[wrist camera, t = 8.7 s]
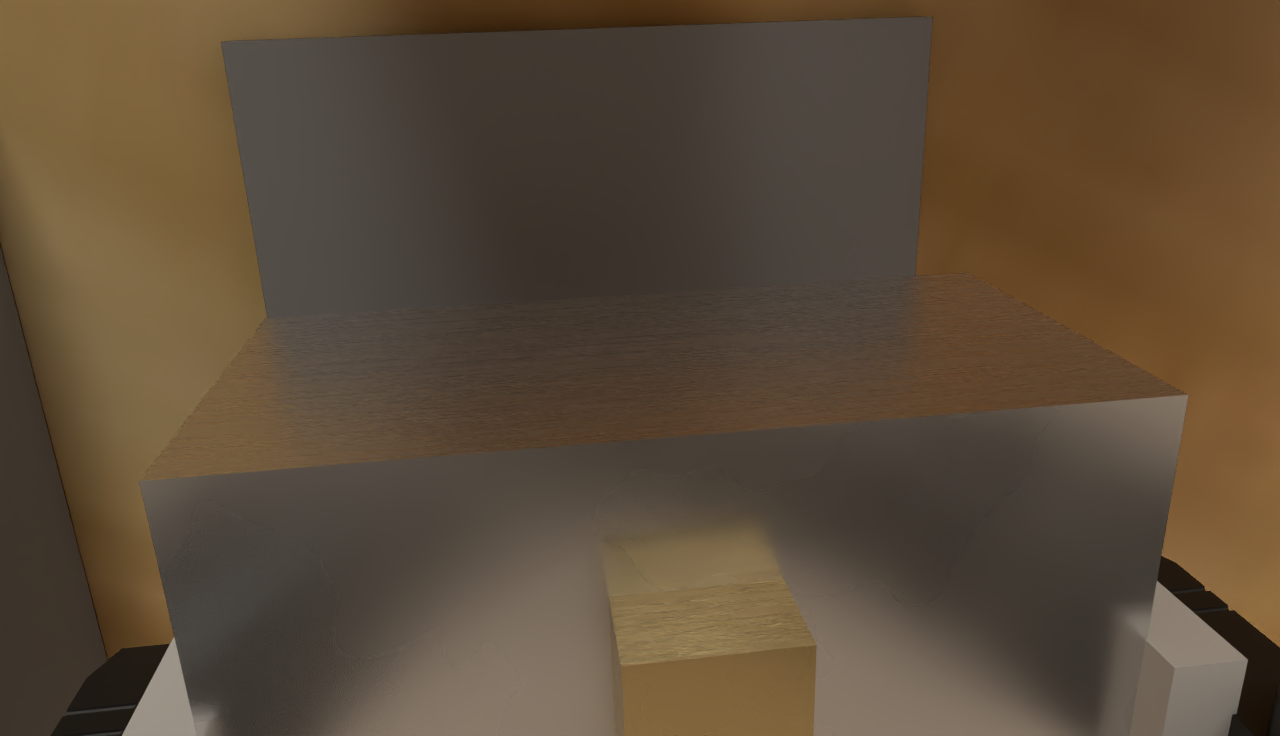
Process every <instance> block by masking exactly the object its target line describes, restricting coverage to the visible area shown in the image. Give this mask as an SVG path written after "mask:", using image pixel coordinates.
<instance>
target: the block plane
mask: <svg viewBox="0 0 1280 736" xmlns="http://www.w3.org/2000/svg"><path fill="white" fill-rule="evenodd" d="M105 662H107V657H106V653H105V649H104V645H103V642H102V638H101V634H100V630H99V626H98V622H97V618H96V615H95V611H94V607H93V603H92V599H91V595H90V591H89V587H88V584H87V580H86V576H85V572H84V568H83V564H82V560H81V557H80V553H79V549H78V545H77V541H76V537H75V533H74V530H73V526H72V522H71V518H70V514H69V510H68V506H67V502H66V499H65V495H64V491H63V487H62V483H61V479H60V475H59V472H58V468H57V464H56V460H55V456H54V452H53V448H52V445H51V441H50V437H49V433H48V429H47V425H46V421H45V417H44V414H43V410H42V406H41V402H40V398H39V394H38V390H37V387H36V383H35V379H34V375H33V371H32V367H31V363H30V360H29V356H28V352H27V348H26V344H25V340H24V336H23V332H22V329H21V325H20V321H19V317H18V313H17V309H16V305H15V302H14V298H13V294H12V290H11V286H10V282H9V278H8V274H7V271H6V267H5V263H4V259H3V255H2V251H1V247H0V736H51V734H52V732H53V731H54V729H55V728H56V726H57V724H58V723H59V721H60V720H61V718H62V716H66V715H67V708H68V707H69V705H70V704H71V702H72V700H73V699H74V697H75V696H76V694H77V692H78V691H79V689H80V688H81V686H82V684H83V683H84V681H85V680H86V678H87V677H88V676H90V675H91V674H92V673H93V672H94V671H96V670H97V669H98V668H99V667H100V666H102V665H103V664H104V663H105Z"/></svg>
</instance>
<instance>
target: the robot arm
mask: <svg viewBox="0 0 1280 736" xmlns="http://www.w3.org/2000/svg"><path fill="white" fill-rule="evenodd" d="M51 736H197V735H196V730H195V726H194V722H193V717H192V713H191V708H190V704H189V699H188V695H187V691H186V686H185V682H184V677H183V673H182V669H181V664H180V660H179V655H178V651H177V646H176V642H175V638H174V637H173V639H172V641H171V643H170V644H164V645H154V646H144V647H134V648H124V649H121V650H120V651H119V652H117V653H116V654H115V655H114V656H113V657H111V658H110V659H109V660H108V661H107V662H105V663H104V664H103V665H102V666H100V667H99V668H98V669H97V670H96V671H94V672H93V673H92V674H91V675H90V676H88V677H87V678H86V680H85V681H84V683H83V684H82V686H81V688H80V689H79V691H78V692H77V694H76V696H75V697H74V699H73V700H72V702H71V704H70V705H69V707H68V708H67V715H66V716H62V718H61V720H60V721H59V723H58V724H57V726H56V728H55V729H54V731H53V732H52V734H51ZM1129 736H1280V648H1279V647H1278V646H1277V645H1276V644H1275V643H1273V642H1272V641H1271V640H1270V639H1268V638H1267V637H1266V636H1265V635H1264V634H1262V633H1261V632H1260V631H1259V630H1257V629H1256V628H1255V627H1254V626H1253V625H1251V624H1250V623H1249V622H1248V621H1246V620H1245V619H1244V618H1243V617H1241V616H1240V615H1239V614H1238V613H1237V612H1235V611H1234V610H1232V611H1229V609H1228V605H1227V604H1226V603H1224V602H1223V601H1222V600H1221V599H1219V598H1218V597H1217V596H1216V595H1215V594H1213V593H1212V592H1211V591H1205V589H1204V586H1203V585H1202V584H1201V583H1200V582H1199V581H1197V580H1196V579H1195V578H1194V577H1192V576H1191V575H1190V574H1189V573H1188V572H1186V571H1185V570H1184V569H1183V568H1181V567H1180V566H1179V565H1178V564H1177V563H1175V562H1173V561H1171V560H1169V559H1167V558H1164V557H1162V556H1161V560H1160V566H1159V572H1158V578H1157V583H1156V589H1155V595H1154V601H1153V607H1152V613H1151V619H1150V625H1149V631H1148V636H1147V639H1146V640H1145V646H1144V652H1143V657H1142V663H1141V669H1140V675H1139V681H1138V687H1137V693H1136V699H1135V705H1134V711H1133V717H1132V722H1131V728H1130V734H1129Z"/></svg>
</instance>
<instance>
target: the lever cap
mask: <svg viewBox="0 0 1280 736" xmlns="http://www.w3.org/2000/svg"><path fill="white" fill-rule="evenodd" d="M1187 401H1188V394H1186V393H1184V392H1183V391H1181V390H1179V389H1177V388H1175V387H1174V386H1172V385H1170V384H1168V383H1166V382H1165V381H1163V380H1161V379H1159V378H1157V377H1156V376H1154V375H1152V374H1150V373H1148V372H1147V371H1145V370H1143V369H1141V368H1139V367H1138V366H1136V365H1134V364H1132V363H1130V362H1129V361H1127V360H1125V359H1123V358H1121V357H1120V356H1118V355H1116V354H1114V353H1112V352H1111V351H1109V350H1107V349H1105V348H1103V347H1102V346H1100V345H1098V344H1096V343H1094V342H1093V341H1091V340H1089V339H1087V338H1085V337H1084V336H1082V335H1080V334H1078V333H1076V332H1075V331H1073V330H1071V329H1069V328H1067V327H1066V326H1064V325H1062V324H1060V323H1058V322H1057V321H1055V320H1053V319H1051V318H1050V317H1048V316H1046V315H1044V314H1042V313H1041V312H1039V311H1037V310H1035V309H1033V308H1032V307H1030V306H1028V305H1026V304H1024V303H1023V302H1021V301H1019V300H1017V299H1015V298H1014V297H1012V296H1010V295H1008V294H1006V293H1005V292H1003V291H1001V290H999V289H997V288H996V287H994V286H992V285H990V284H988V283H987V282H985V281H983V280H981V279H979V278H978V277H976V276H974V275H972V274H970V273H969V272H966V273H951V274H936V275H921V276H905V277H890V278H875V279H860V280H844V281H829V282H814V283H799V284H784V285H768V286H753V287H738V288H723V289H707V290H692V291H677V292H662V293H647V294H631V295H616V296H601V297H586V298H570V299H555V300H540V301H525V302H510V303H494V304H479V305H464V306H449V307H433V308H418V309H403V310H388V311H373V312H357V313H342V314H327V315H312V316H296V317H281V318H266V319H265V320H264V321H263V322H262V323H261V325H260V326H259V327H258V329H257V330H256V331H255V332H254V334H253V335H252V336H251V338H250V339H249V340H248V341H247V343H246V344H245V345H244V347H243V348H242V349H241V350H240V352H239V353H238V354H237V356H236V357H235V358H234V359H233V361H232V362H231V363H230V365H229V366H228V367H227V368H226V370H225V371H224V372H223V374H222V375H221V376H220V378H219V379H218V380H217V381H216V383H215V384H214V385H213V387H212V388H211V389H210V390H209V392H208V393H207V394H206V396H205V397H204V398H203V399H202V401H201V402H200V403H199V405H198V406H197V407H196V408H195V410H194V411H193V412H192V414H191V415H190V416H189V417H188V419H187V420H186V421H185V423H184V424H183V425H182V426H181V428H180V429H179V430H178V432H177V433H176V434H175V435H174V437H173V438H172V439H171V441H170V442H169V443H168V445H167V446H166V447H165V448H164V450H163V451H162V452H161V454H160V455H159V456H158V457H157V459H156V460H155V461H154V463H153V464H152V465H151V466H150V468H149V469H148V470H147V472H146V473H145V474H144V475H143V477H142V478H141V479H140V481H139V483H140V487H141V492H142V496H143V501H144V505H145V510H146V514H147V518H148V523H149V527H150V532H151V536H152V540H153V545H154V549H155V554H156V558H157V563H158V567H159V571H160V576H161V580H162V585H163V589H164V593H165V598H166V602H167V607H168V611H169V616H170V620H171V624H172V629H173V633H174V638H175V642H176V646H177V651H178V655H179V660H180V664H181V669H182V673H183V677H184V682H185V686H186V691H187V695H188V699H189V704H190V708H191V713H192V717H193V722H194V726H195V730H196V735H197V736H1129V734H1130V728H1131V722H1132V717H1133V711H1134V705H1135V699H1136V693H1137V687H1138V681H1139V675H1140V669H1141V663H1142V657H1143V652H1144V646H1145V640H1146V639H1147V636H1148V631H1149V625H1150V619H1151V613H1152V607H1153V601H1154V595H1155V589H1156V583H1157V578H1158V572H1159V566H1160V560H1161V554H1162V548H1163V542H1164V536H1165V530H1166V524H1167V519H1168V513H1169V507H1170V501H1171V495H1172V489H1173V483H1174V477H1175V471H1176V466H1177V460H1178V454H1179V448H1180V442H1181V436H1182V430H1183V424H1184V418H1185V413H1186V407H1187Z"/></svg>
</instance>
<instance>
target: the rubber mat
mask: <svg viewBox="0 0 1280 736" xmlns="http://www.w3.org/2000/svg"><path fill="white" fill-rule="evenodd" d="M932 22H933V17H921V16H920V17H892V18H863V19H835V20H807V21H778V22H750V23H721V24H693V25H665V26H636V27H608V28H579V29H551V30H522V31H494V32H466V33H437V34H409V35H380V36H352V37H324V38H295V39H267V40H238V41H224V42H221V44H222V50H223V56H224V62H225V68H226V74H227V80H228V86H229V92H230V98H231V104H232V110H233V116H234V122H235V128H236V134H237V140H238V146H239V152H240V158H241V164H242V169H243V175H244V181H245V187H246V193H247V199H248V205H249V211H250V217H251V223H252V229H253V235H254V241H255V247H256V253H257V259H258V265H259V271H260V277H261V283H262V288H263V294H264V300H265V306H266V312H267V318H281V317H296V316H312V315H327V314H342V313H357V312H373V311H388V310H403V309H418V308H433V307H449V306H464V305H479V304H494V303H510V302H525V301H540V300H555V299H570V298H586V297H601V296H616V295H631V294H647V293H662V292H677V291H692V290H707V289H723V288H738V287H753V286H768V285H784V284H799V283H814V282H829V281H844V280H860V279H875V278H890V277H905V276H915V274H916V259H917V244H918V229H919V214H920V200H921V185H922V170H923V155H924V140H925V125H926V111H927V96H928V81H929V66H930V51H931V37H932Z"/></svg>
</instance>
